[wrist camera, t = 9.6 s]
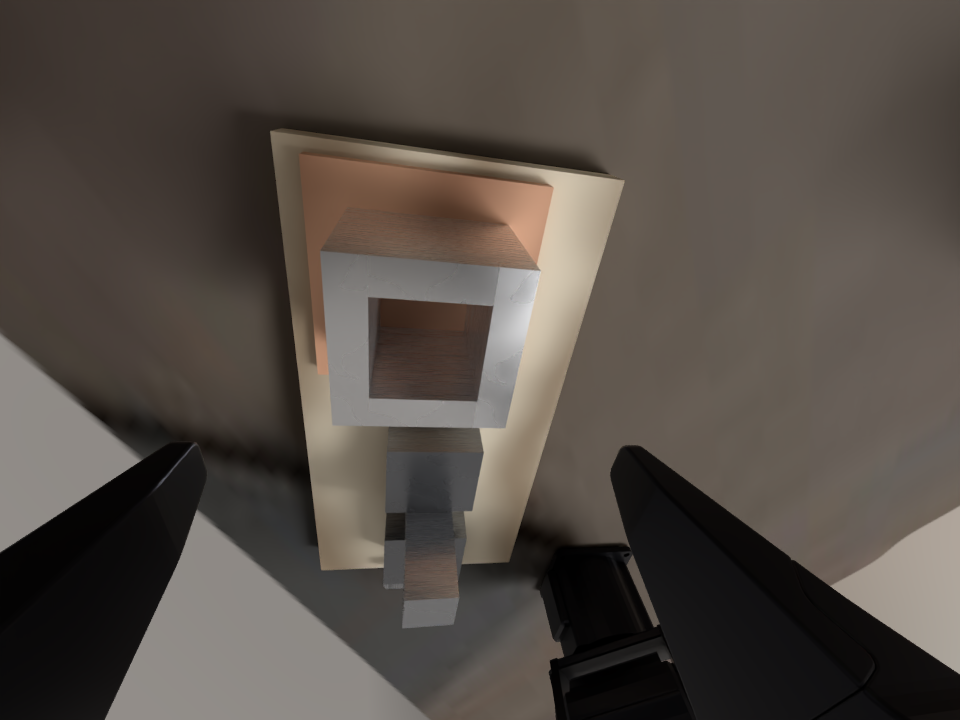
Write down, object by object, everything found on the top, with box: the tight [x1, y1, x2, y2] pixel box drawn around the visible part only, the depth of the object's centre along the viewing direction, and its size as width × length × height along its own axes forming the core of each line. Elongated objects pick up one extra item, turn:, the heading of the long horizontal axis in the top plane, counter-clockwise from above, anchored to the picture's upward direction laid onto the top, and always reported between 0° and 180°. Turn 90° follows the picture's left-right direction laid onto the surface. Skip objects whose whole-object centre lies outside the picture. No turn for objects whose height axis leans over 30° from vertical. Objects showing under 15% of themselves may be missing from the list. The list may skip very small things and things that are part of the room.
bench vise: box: [383, 427, 484, 628], centre depth 22 cm, size 5×14×7 cm, turn 172°
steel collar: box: [320, 207, 541, 428], centre depth 15 cm, size 6×6×5 cm
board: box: [270, 128, 625, 570], centre depth 22 cm, size 13×26×2 cm, turn 172°
